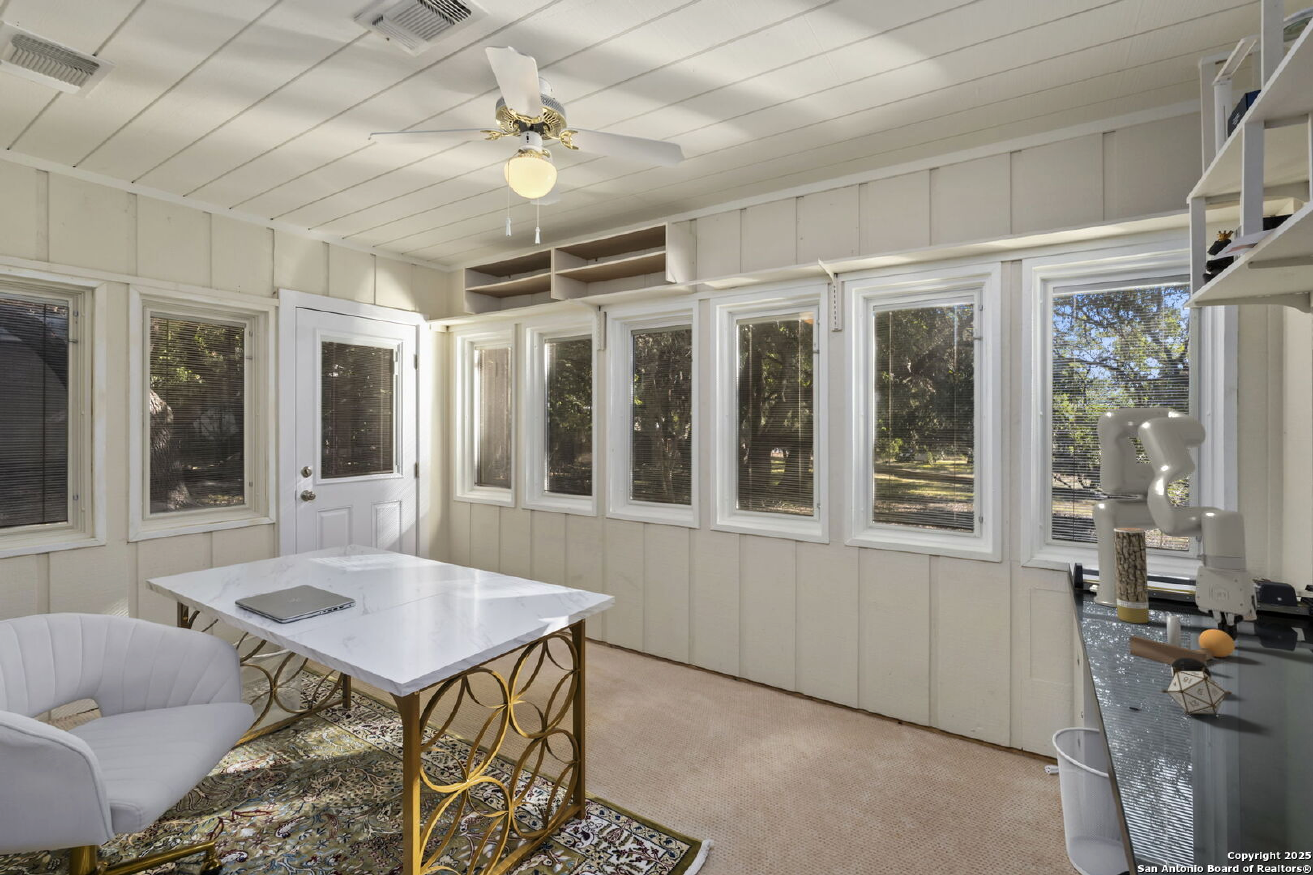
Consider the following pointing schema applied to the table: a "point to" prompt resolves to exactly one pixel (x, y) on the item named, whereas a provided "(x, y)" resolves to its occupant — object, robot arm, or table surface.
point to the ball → (1217, 642)
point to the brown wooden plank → (1162, 651)
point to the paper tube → (1131, 575)
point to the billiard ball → (1189, 666)
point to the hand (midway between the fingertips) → (1227, 640)
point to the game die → (1196, 692)
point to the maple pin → (1207, 652)
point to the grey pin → (1173, 630)
